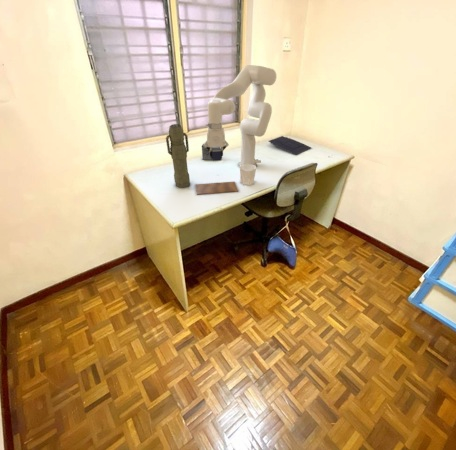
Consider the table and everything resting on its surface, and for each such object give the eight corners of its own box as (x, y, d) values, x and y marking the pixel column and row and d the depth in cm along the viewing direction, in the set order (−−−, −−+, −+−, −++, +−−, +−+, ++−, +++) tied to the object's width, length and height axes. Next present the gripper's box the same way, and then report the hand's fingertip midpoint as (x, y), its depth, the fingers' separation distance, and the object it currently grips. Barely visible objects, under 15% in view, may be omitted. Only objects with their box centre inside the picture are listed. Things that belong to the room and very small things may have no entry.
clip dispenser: (219, 155, 154) (219, 145, 150) (221, 160, 147) (221, 150, 144) (211, 155, 153) (211, 146, 149) (213, 160, 146) (212, 150, 143)
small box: (217, 157, 191) (217, 143, 185) (216, 160, 185) (215, 146, 179) (204, 156, 191) (203, 143, 185) (202, 159, 186) (201, 145, 180)
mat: (234, 182, 157) (234, 181, 157) (238, 191, 147) (238, 190, 147) (196, 185, 153) (195, 184, 153) (197, 194, 144) (197, 193, 143)
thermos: (170, 184, 153) (161, 125, 133) (187, 179, 159) (181, 121, 139) (177, 190, 148) (168, 129, 127) (194, 184, 154) (189, 125, 133)
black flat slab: (282, 138, 226) (283, 134, 223) (311, 150, 211) (312, 146, 209) (265, 144, 212) (266, 140, 209) (295, 158, 197) (296, 154, 195)
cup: (254, 186, 153) (255, 171, 147) (238, 185, 154) (238, 170, 148) (256, 179, 161) (257, 164, 155) (240, 178, 162) (241, 163, 156)
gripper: (200, 128, 135) (202, 160, 146) (231, 127, 137) (231, 158, 148) (199, 124, 141) (201, 155, 152) (229, 123, 143) (229, 154, 154)
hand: (216, 157), depth 150 cm, fingers closed on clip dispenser, 5 cm apart
